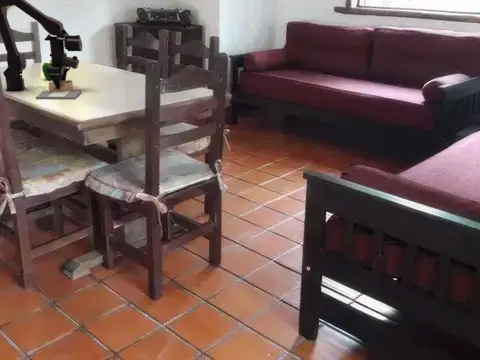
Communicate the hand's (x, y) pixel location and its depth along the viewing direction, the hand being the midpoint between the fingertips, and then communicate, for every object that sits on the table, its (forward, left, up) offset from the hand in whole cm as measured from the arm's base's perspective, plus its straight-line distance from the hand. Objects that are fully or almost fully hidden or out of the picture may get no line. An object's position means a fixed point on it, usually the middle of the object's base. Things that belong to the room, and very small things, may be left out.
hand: (61, 86), depth 242 cm
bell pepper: (-10, +24, -2) cm, 26 cm away
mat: (+2, -12, -1) cm, 12 cm away
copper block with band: (0, 0, -2) cm, 2 cm away
